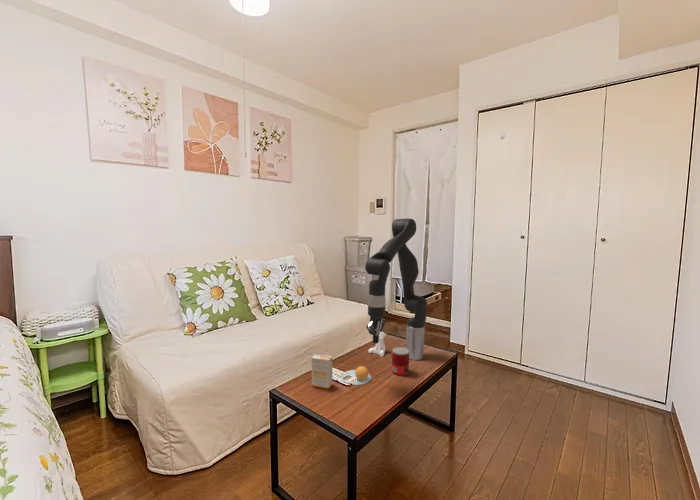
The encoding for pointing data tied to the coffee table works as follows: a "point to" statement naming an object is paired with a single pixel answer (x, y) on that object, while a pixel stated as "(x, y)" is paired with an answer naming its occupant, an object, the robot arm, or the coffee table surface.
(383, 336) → the seated beast figurine
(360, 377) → the ball
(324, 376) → the supplement box
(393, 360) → the canned food
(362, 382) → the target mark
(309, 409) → the coffee table surface
